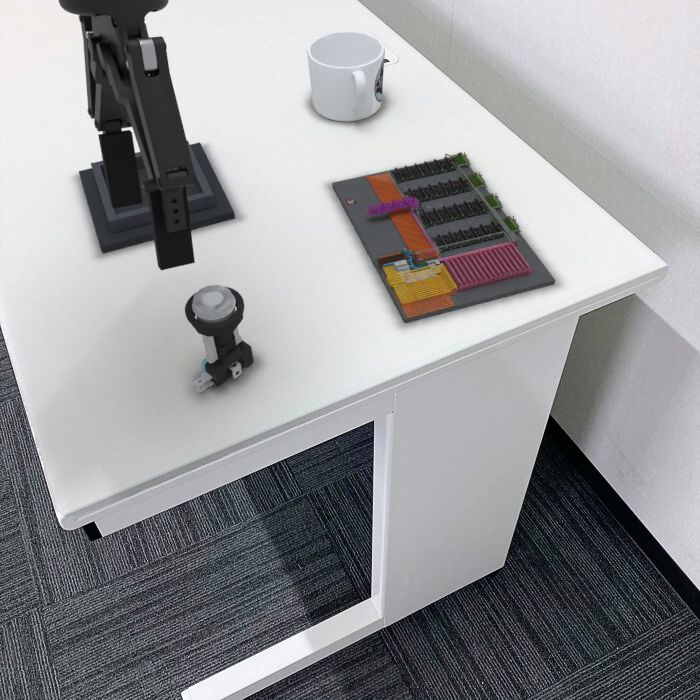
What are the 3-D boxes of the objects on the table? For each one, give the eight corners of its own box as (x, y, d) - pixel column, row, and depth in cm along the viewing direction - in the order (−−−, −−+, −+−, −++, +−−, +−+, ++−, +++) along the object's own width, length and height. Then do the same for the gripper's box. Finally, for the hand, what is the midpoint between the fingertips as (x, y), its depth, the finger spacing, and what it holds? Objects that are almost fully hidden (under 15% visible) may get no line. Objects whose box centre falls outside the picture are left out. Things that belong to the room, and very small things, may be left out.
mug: (303, 90, 109) (299, 36, 102) (372, 79, 110) (372, 26, 104) (325, 140, 100) (322, 85, 94) (399, 127, 102) (401, 72, 96)
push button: (216, 408, 71) (197, 338, 63) (180, 379, 73) (158, 308, 66) (266, 367, 74) (254, 296, 66) (230, 341, 76) (215, 269, 69)
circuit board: (554, 283, 81) (559, 265, 79) (404, 322, 78) (405, 304, 75) (460, 158, 97) (462, 140, 95) (332, 186, 93) (331, 168, 91)
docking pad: (102, 253, 86) (95, 234, 84) (80, 177, 96) (74, 159, 93) (235, 218, 90) (231, 199, 87) (201, 148, 99) (197, 130, 97)
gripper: (227, -36, 43) (250, 284, 55) (112, -70, 61) (148, 177, 73) (97, -30, 40) (151, 309, 52) (16, -67, 58) (70, 191, 70)
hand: (149, 232), depth 62 cm, fingers open, 13 cm apart
